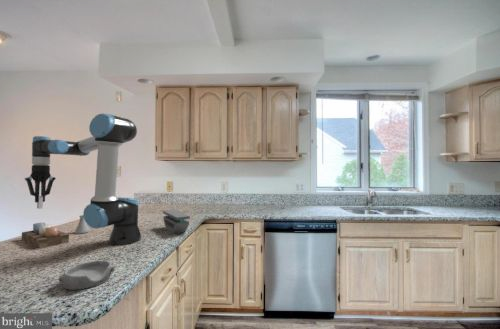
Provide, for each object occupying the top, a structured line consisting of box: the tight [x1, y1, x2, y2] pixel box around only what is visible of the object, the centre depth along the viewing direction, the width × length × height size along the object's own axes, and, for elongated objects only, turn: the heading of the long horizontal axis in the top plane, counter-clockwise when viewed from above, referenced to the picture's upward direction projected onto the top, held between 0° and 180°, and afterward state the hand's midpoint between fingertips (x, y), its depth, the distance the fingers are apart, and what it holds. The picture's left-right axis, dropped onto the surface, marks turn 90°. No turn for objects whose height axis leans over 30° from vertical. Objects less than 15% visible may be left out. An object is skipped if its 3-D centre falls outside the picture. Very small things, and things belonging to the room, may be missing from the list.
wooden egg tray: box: [21, 230, 70, 249], centre depth 127 cm, size 24×12×4 cm, turn 58°
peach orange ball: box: [45, 226, 59, 238], centre depth 123 cm, size 5×5×5 cm
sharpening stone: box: [162, 209, 191, 235], centre depth 152 cm, size 25×8×11 cm, turn 37°
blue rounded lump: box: [32, 222, 46, 233], centre depth 132 cm, size 5×5×5 cm
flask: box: [74, 214, 91, 234], centre depth 145 cm, size 7×7×10 cm
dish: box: [58, 260, 116, 291], centre depth 84 cm, size 14×14×5 cm
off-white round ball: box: [39, 224, 53, 236], centre depth 128 cm, size 5×5×5 cm
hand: (39, 208), depth 132 cm, fingers closed
